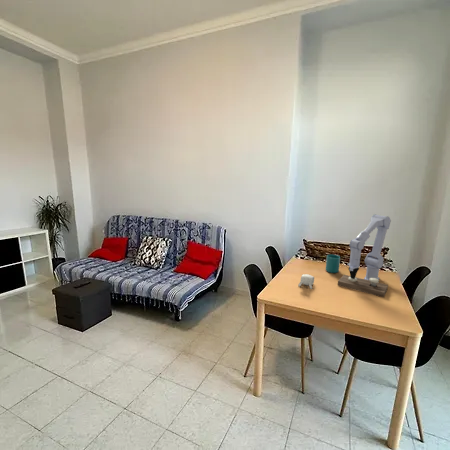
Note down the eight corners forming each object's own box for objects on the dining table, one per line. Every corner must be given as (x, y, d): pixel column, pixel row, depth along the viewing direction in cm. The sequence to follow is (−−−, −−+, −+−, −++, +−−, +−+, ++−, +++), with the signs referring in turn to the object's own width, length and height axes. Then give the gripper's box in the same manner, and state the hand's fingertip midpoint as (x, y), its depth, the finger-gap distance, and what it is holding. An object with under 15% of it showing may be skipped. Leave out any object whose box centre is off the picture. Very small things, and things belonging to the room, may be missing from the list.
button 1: (348, 282, 177) (349, 276, 176) (357, 284, 174) (357, 278, 173) (346, 284, 173) (347, 278, 172) (355, 286, 170) (355, 280, 169)
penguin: (300, 286, 178) (295, 286, 165) (302, 273, 179) (297, 272, 166) (314, 289, 173) (309, 289, 160) (316, 276, 175) (312, 275, 162)
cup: (339, 268, 201) (341, 254, 199) (337, 274, 191) (339, 259, 189) (327, 266, 206) (328, 252, 203) (324, 271, 195) (325, 257, 193)
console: (343, 278, 183) (344, 274, 183) (387, 289, 167) (388, 284, 167) (337, 285, 172) (337, 280, 172) (383, 297, 157) (384, 292, 156)
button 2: (369, 283, 169) (370, 277, 168) (378, 285, 166) (379, 279, 165) (367, 285, 165) (368, 279, 164) (377, 288, 162) (377, 281, 161)
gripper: (351, 254, 178) (349, 273, 181) (345, 259, 167) (342, 280, 169) (362, 256, 174) (360, 276, 176) (357, 262, 162) (354, 283, 165)
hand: (352, 278), depth 173 cm, fingers closed, pressing on button 1
